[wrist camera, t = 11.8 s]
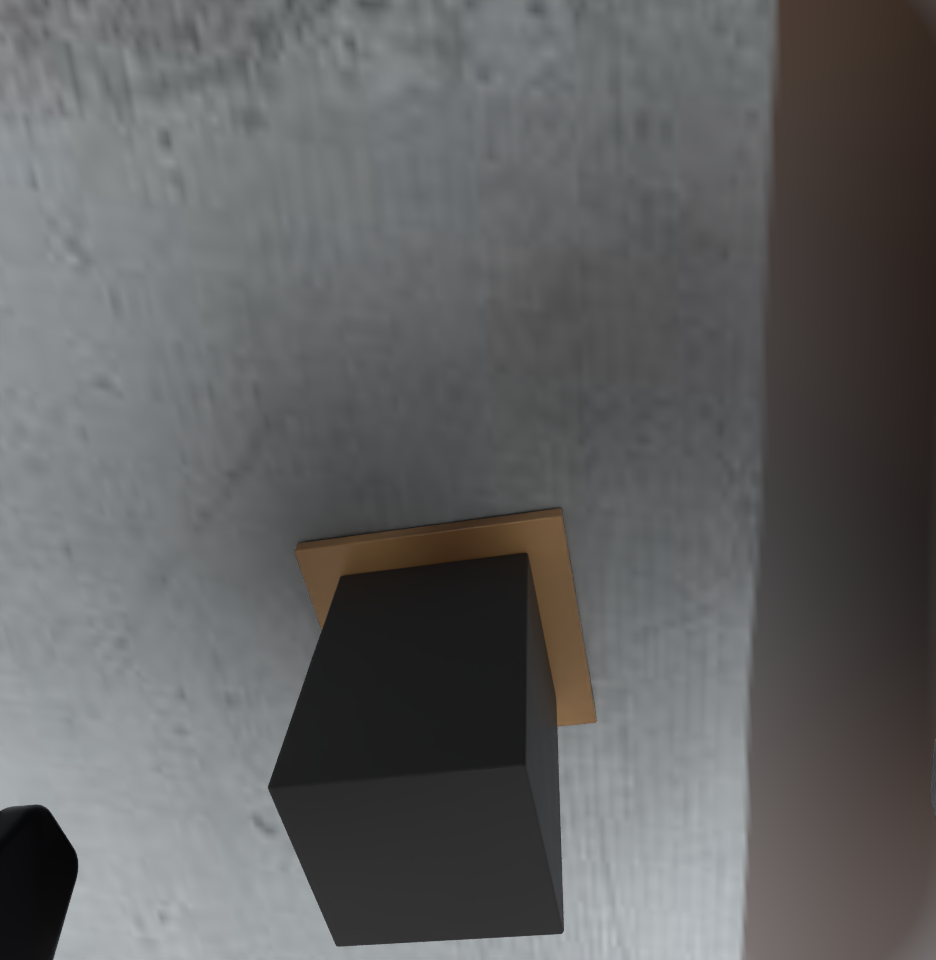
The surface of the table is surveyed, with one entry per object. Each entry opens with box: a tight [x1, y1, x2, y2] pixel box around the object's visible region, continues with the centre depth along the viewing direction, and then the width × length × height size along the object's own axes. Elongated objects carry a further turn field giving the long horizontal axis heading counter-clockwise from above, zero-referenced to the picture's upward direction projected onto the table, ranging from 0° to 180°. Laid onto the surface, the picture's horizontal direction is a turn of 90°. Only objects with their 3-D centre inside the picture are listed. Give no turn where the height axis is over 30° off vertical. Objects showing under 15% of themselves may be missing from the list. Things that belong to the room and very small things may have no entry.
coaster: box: [294, 508, 597, 726], centre depth 23 cm, size 7×7×1 cm
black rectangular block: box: [268, 553, 564, 947], centre depth 20 cm, size 5×5×7 cm
